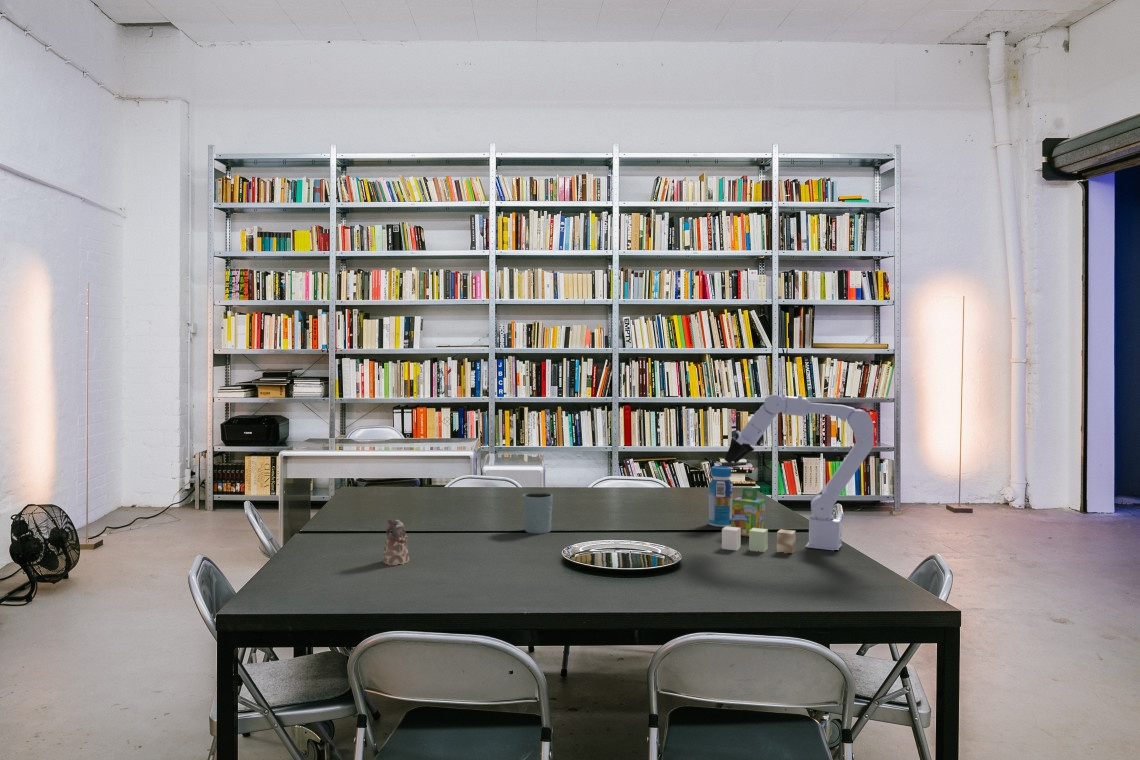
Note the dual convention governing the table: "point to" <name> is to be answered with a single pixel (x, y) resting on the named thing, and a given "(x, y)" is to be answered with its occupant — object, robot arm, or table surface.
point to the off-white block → (731, 538)
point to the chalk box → (748, 512)
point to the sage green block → (758, 539)
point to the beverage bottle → (720, 497)
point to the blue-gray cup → (537, 512)
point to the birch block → (786, 541)
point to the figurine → (396, 544)
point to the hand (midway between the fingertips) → (730, 461)
